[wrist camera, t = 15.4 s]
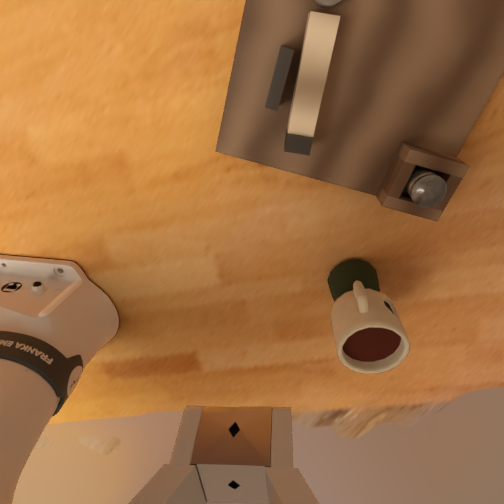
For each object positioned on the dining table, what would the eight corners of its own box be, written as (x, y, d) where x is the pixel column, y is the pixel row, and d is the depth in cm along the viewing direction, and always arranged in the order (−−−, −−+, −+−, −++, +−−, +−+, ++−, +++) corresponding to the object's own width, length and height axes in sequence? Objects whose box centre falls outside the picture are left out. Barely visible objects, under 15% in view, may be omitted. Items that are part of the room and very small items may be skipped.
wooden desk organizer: (218, 146, 39) (210, 159, 35) (273, -124, 28) (271, -155, 24) (420, 202, 41) (437, 221, 37) (549, -33, 30) (594, -46, 25)
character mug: (383, 304, 49) (414, 382, 37) (331, 313, 50) (345, 390, 39) (374, 235, 43) (406, 302, 32) (316, 248, 45) (328, 315, 34)
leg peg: (394, 188, 38) (405, 202, 34) (408, 159, 36) (421, 171, 33) (422, 196, 38) (436, 211, 35) (437, 167, 36) (453, 180, 33)
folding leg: (315, -37, 29) (318, -46, 26) (349, -31, 29) (356, -39, 26) (282, 142, 36) (282, 151, 33) (309, 146, 36) (311, 155, 33)
